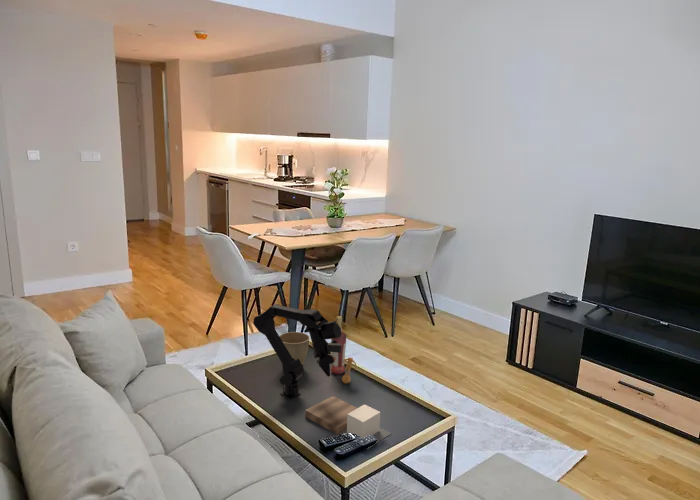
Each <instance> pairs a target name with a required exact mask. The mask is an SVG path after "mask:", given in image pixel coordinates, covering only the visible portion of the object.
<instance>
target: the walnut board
mask: <svg viewBox="0 0 700 500" xmlns="http://www.w3.org/2000/svg"><path fill="white" fill-rule="evenodd" d="M357 408H358V407H356V406H354V405H352V404H350V403H348V402H346V401H344V400H342V399H341V398H338V397H336V396H334V395H332V396H331V397H329V398H328V397H327V399H324V400H323V401H321V402H320V401H319V402H318V403H316V404H314V405H313V406H310V407H309V408H307V409H305V414H304V416H305V418H307V419H309V420H310V421H312V422H314V423H316V424H317V425H319V426H321V427H322V428H325V429H327V430H328V431H330V432H332V433H333V434H335V435H341V434H340V433H341V432H343V431H344V430H346V429H347V414H348V413H350V412H352V411H354V410H355V409H357Z"/></svg>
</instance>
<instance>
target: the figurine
mask: <svg viewBox="0 0 700 500" xmlns="http://www.w3.org/2000/svg"><path fill="white" fill-rule="evenodd" d="M346 361H347V364H346V366H345V367H344V369H345V371H346V372H345V373H344V375H343V376H342V377H341V381H342V383H343V384H349V383H350V382H351V381H352V380H351V376H350V374H351V369H352V363H353V364H354V370H355V371H356V370H357V363H356V361H355V360H354V358H353V357H347V358H345V360H344V361H343V363H344V364H345V363H346ZM343 363H342V364H343ZM342 364H341V365H342Z"/></svg>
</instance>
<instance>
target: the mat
mask: <svg viewBox="0 0 700 500" xmlns="http://www.w3.org/2000/svg"><path fill="white" fill-rule="evenodd" d="M343 433H347V429H346V430H344V431H343V432H341V433H340V434H339V435H341V434H343ZM391 434H392V432H390V431H388V430H386V429H384V428H383V427H380V431H379V432H377V433H375V434H374V435H373V436H374V437H375V438H376V439H377V442H376V443H375V444H374V445H372V446H370V447H368V448H367V449H366V450H369V449H370V448H372V447H374V446H375V445H377V444H378V443H379V442H381V441H382V440H384V439H385V438H387V437H388V436H390V435H391Z"/></svg>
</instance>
